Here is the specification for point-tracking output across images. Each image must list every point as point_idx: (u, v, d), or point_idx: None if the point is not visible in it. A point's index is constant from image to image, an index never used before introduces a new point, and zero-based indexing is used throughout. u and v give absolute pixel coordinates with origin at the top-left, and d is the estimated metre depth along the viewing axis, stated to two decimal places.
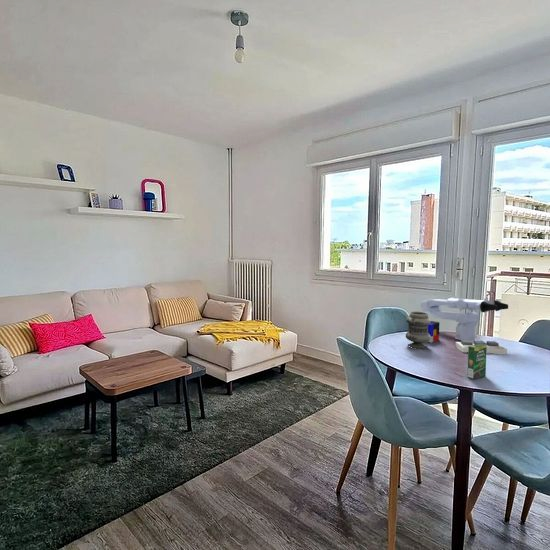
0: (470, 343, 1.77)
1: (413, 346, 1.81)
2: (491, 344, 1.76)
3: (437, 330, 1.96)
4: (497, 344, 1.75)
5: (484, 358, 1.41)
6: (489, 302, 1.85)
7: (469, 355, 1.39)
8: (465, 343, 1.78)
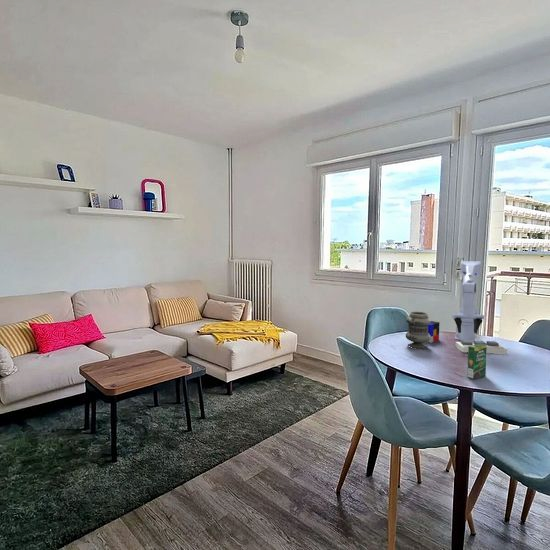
0: (470, 343, 1.77)
1: (413, 346, 1.81)
2: (491, 344, 1.76)
3: (437, 330, 1.96)
4: (497, 344, 1.75)
5: (484, 358, 1.41)
6: (473, 317, 1.76)
7: (469, 355, 1.39)
8: (465, 343, 1.78)
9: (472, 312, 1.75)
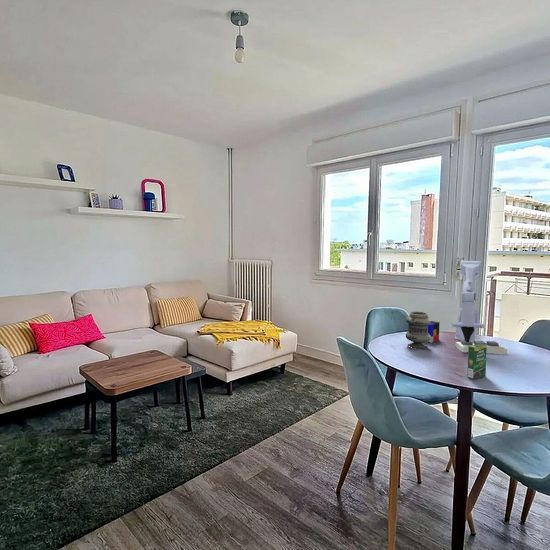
0: (470, 343, 1.77)
1: (413, 346, 1.81)
2: (491, 344, 1.76)
3: (437, 330, 1.96)
4: (497, 344, 1.75)
5: (484, 358, 1.41)
6: (472, 326, 1.77)
7: (469, 355, 1.39)
8: (465, 343, 1.78)
9: (472, 321, 1.76)
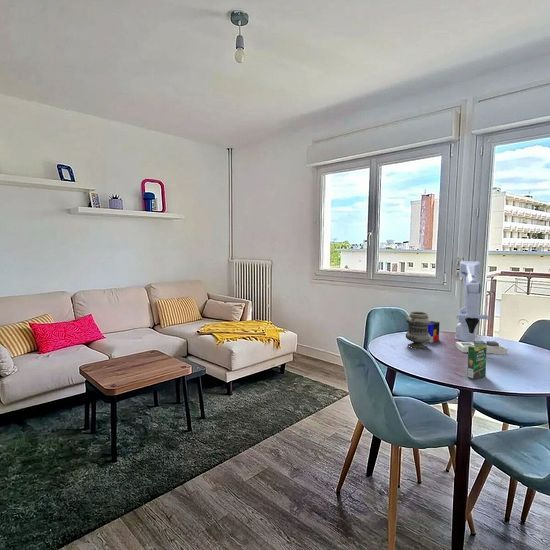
0: None
1: (413, 346, 1.81)
2: (491, 344, 1.76)
3: (437, 330, 1.96)
4: (497, 344, 1.75)
5: (484, 358, 1.41)
6: None
7: (469, 355, 1.39)
8: None
9: (476, 312, 1.75)
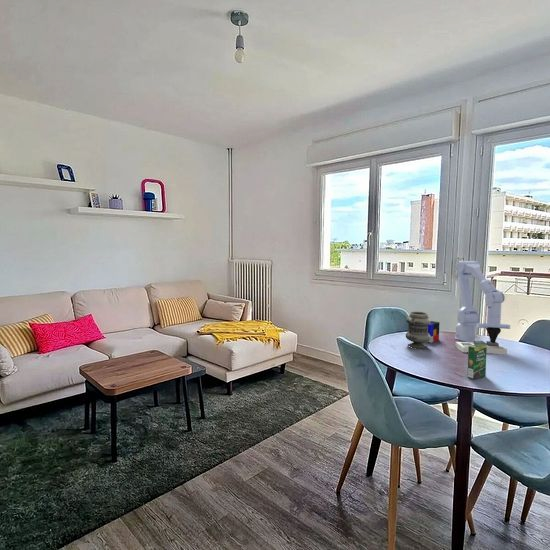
0: None
1: (413, 346, 1.81)
2: (491, 344, 1.76)
3: (437, 330, 1.96)
4: (497, 344, 1.75)
5: (484, 358, 1.41)
6: (499, 326, 1.75)
7: (469, 355, 1.39)
8: None
9: (498, 322, 1.74)
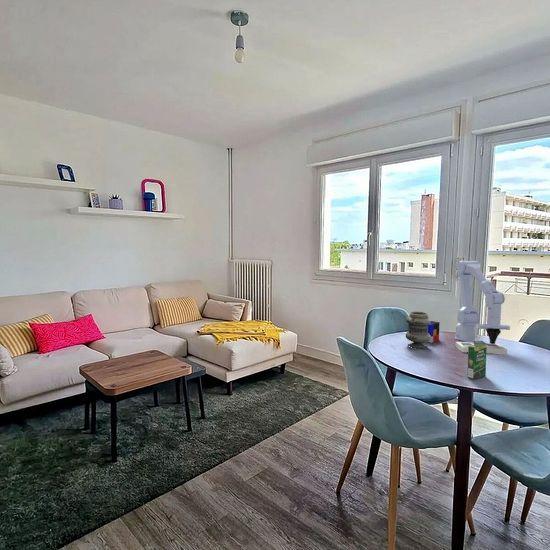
0: None
1: (413, 346, 1.81)
2: None
3: (437, 330, 1.96)
4: None
5: (484, 358, 1.41)
6: (499, 327, 1.75)
7: (469, 355, 1.39)
8: None
9: (498, 323, 1.74)
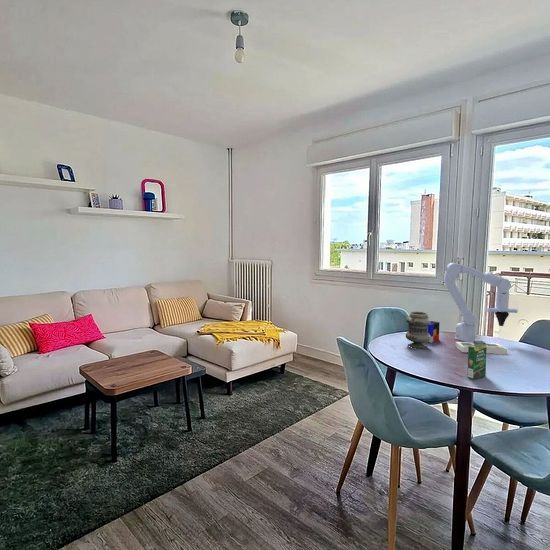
0: None
1: (413, 346, 1.81)
2: None
3: (437, 330, 1.96)
4: None
5: (484, 358, 1.41)
6: (507, 310, 1.88)
7: (469, 355, 1.39)
8: None
9: (506, 306, 1.87)
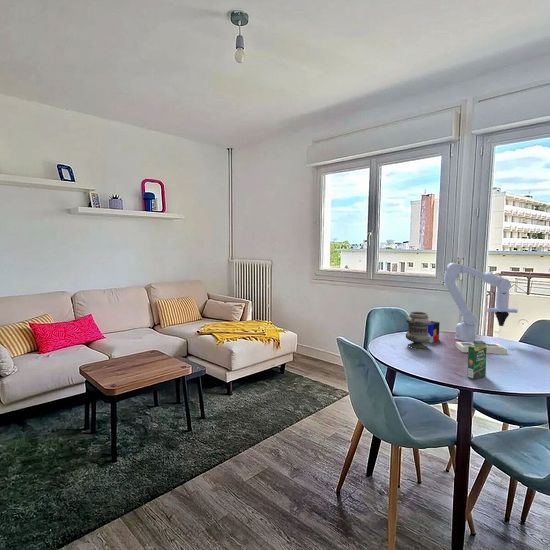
0: None
1: (413, 346, 1.81)
2: None
3: (437, 330, 1.96)
4: None
5: (484, 358, 1.41)
6: (507, 310, 1.88)
7: (469, 355, 1.39)
8: None
9: (506, 306, 1.87)
